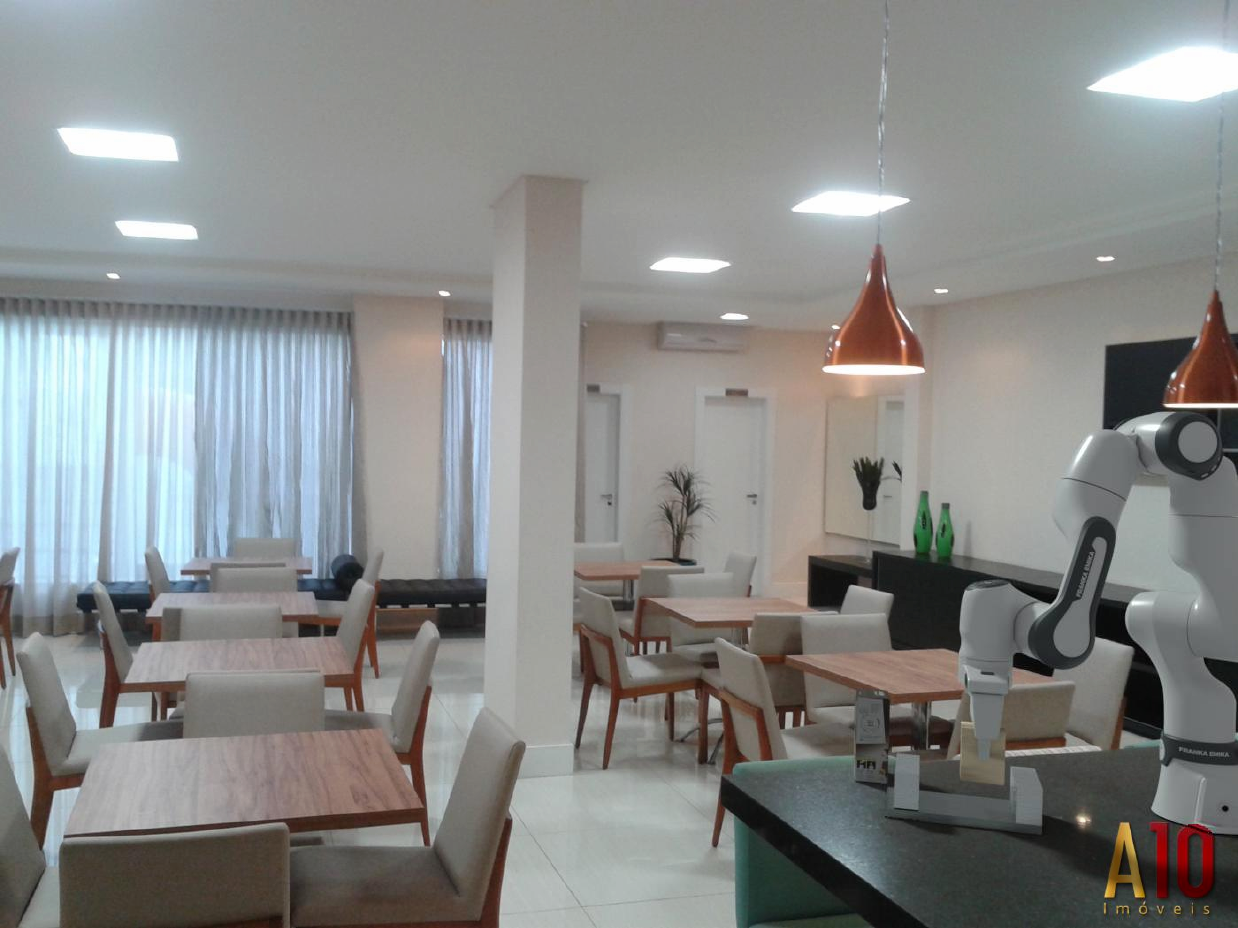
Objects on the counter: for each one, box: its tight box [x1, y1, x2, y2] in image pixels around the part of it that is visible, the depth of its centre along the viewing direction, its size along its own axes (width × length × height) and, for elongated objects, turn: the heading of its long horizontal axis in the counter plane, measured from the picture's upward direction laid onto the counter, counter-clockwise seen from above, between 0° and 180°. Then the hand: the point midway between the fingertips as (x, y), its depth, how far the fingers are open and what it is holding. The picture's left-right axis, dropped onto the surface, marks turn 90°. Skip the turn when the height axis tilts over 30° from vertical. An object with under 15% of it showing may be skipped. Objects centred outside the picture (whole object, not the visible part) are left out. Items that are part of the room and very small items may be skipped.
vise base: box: [884, 765, 1044, 836], centre depth 184 cm, size 25×13×8 cm, turn 74°
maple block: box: [959, 721, 1007, 786], centre depth 183 cm, size 5×7×9 cm
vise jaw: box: [893, 752, 921, 810], centre depth 186 cm, size 4×13×6 cm, turn 164°
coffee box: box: [853, 688, 891, 785], centre depth 205 cm, size 9×6×16 cm
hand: (982, 754), depth 183 cm, fingers closed on maple block, 5 cm apart
